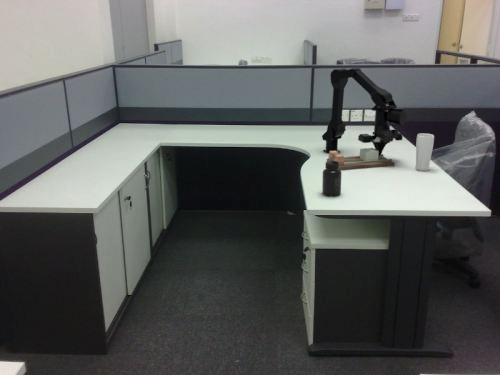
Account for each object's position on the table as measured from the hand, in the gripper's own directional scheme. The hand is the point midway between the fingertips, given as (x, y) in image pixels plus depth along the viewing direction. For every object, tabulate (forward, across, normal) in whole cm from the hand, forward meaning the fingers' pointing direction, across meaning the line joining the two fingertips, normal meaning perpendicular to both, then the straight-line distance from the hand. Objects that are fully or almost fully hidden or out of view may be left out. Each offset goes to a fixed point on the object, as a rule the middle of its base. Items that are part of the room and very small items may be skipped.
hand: (378, 155), depth 210 cm
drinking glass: (+3, +12, -15) cm, 20 cm away
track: (+3, -9, 0) cm, 9 cm away
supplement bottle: (+3, -36, -33) cm, 49 cm away
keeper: (+1, -5, 0) cm, 5 cm away
